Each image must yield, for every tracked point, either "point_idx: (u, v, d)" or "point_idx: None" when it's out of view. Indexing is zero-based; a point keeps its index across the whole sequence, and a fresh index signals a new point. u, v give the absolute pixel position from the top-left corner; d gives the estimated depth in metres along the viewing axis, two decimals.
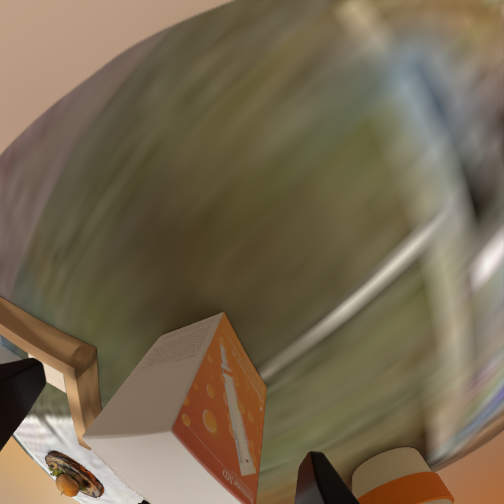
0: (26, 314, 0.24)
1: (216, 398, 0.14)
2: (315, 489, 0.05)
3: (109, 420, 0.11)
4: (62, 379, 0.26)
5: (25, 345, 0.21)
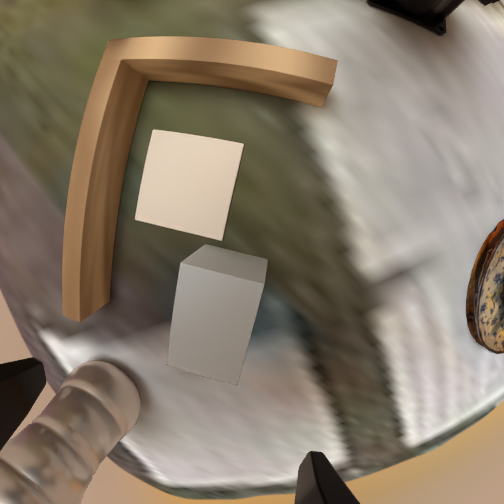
0: None
1: None
2: (315, 489, 0.05)
3: None
4: (209, 141, 0.17)
5: (85, 145, 0.13)
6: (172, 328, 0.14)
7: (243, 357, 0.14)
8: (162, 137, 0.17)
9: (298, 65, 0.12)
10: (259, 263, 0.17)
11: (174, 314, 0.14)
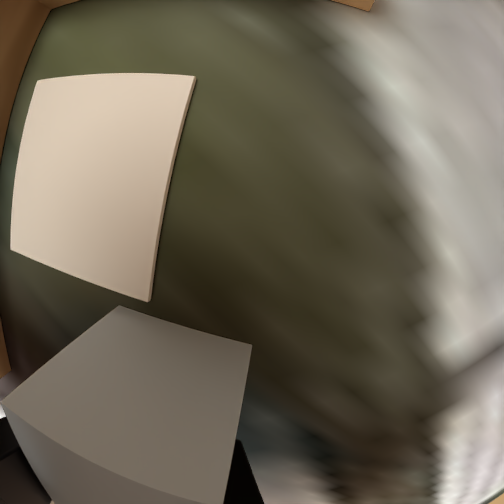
0: None
1: None
2: None
3: None
4: (123, 80, 0.06)
5: None
6: (49, 492, 0.04)
7: None
8: (47, 90, 0.06)
9: None
10: (227, 372, 0.06)
11: (40, 478, 0.04)
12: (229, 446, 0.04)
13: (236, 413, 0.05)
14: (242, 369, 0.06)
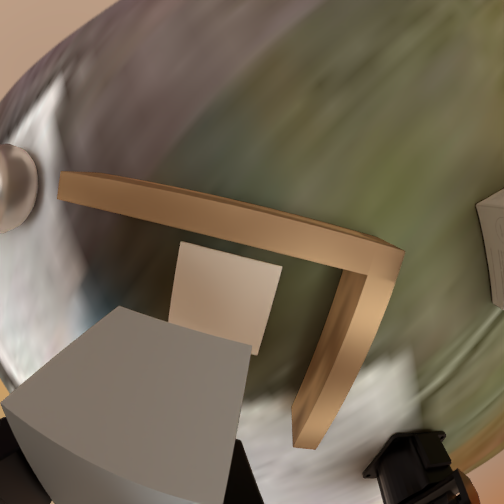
0: (205, 193, 0.16)
1: None
2: None
3: None
4: (261, 327, 0.17)
5: (256, 227, 0.12)
6: (49, 493, 0.04)
7: None
8: (271, 277, 0.17)
9: (312, 430, 0.14)
10: (227, 373, 0.06)
11: (40, 478, 0.04)
12: (229, 447, 0.04)
13: (236, 414, 0.05)
14: (242, 370, 0.06)
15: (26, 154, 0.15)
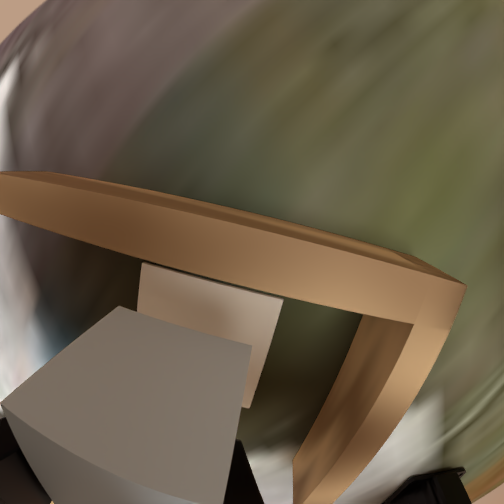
0: (173, 195, 0.11)
1: None
2: None
3: None
4: (254, 376, 0.12)
5: (241, 252, 0.07)
6: (48, 493, 0.04)
7: None
8: (268, 314, 0.12)
9: (318, 500, 0.09)
10: (227, 373, 0.06)
11: (40, 479, 0.04)
12: (229, 447, 0.04)
13: (236, 414, 0.05)
14: (242, 370, 0.06)
15: None
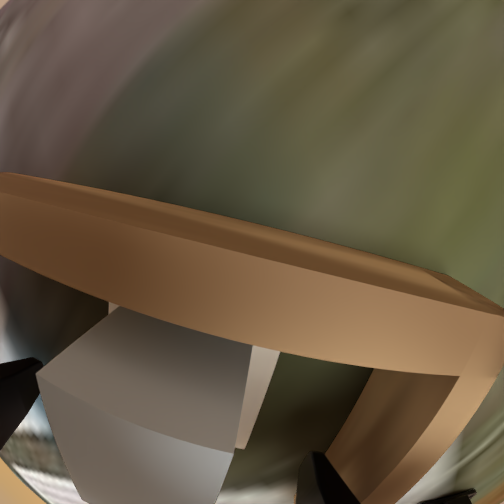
0: (144, 199, 0.08)
1: None
2: (316, 489, 0.05)
3: None
4: (250, 418, 0.10)
5: (222, 291, 0.05)
6: (68, 467, 0.05)
7: None
8: (266, 350, 0.09)
9: None
10: (234, 348, 0.07)
11: (62, 452, 0.05)
12: (238, 405, 0.05)
13: (243, 380, 0.06)
14: (247, 346, 0.08)
15: None
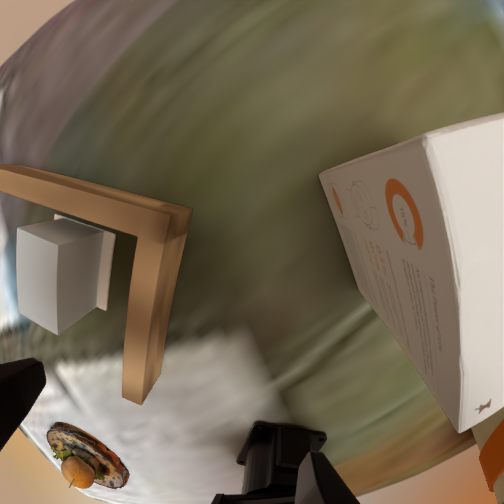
0: (68, 177, 0.18)
1: None
2: (315, 489, 0.05)
3: None
4: (105, 285, 0.19)
5: (66, 198, 0.14)
6: (17, 280, 0.14)
7: (55, 309, 0.14)
8: (108, 243, 0.18)
9: (130, 382, 0.16)
10: (86, 233, 0.17)
11: (17, 269, 0.14)
12: (71, 240, 0.15)
13: (79, 238, 0.15)
14: (92, 233, 0.17)
15: None
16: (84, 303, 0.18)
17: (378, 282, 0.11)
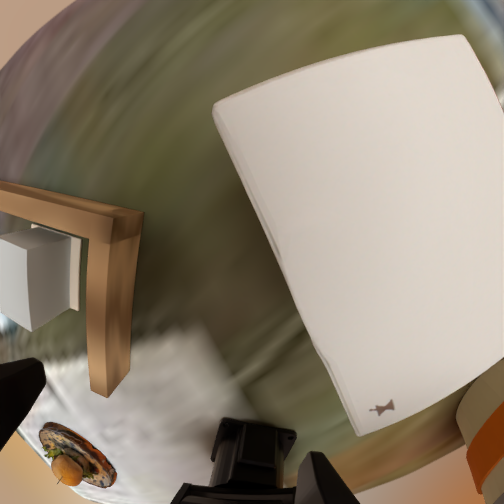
0: (40, 189, 0.18)
1: None
2: (315, 489, 0.05)
3: None
4: (76, 287, 0.20)
5: (33, 208, 0.15)
6: None
7: (28, 307, 0.15)
8: (75, 248, 0.19)
9: (95, 375, 0.17)
10: (55, 239, 0.17)
11: None
12: (39, 246, 0.15)
13: (47, 243, 0.16)
14: (60, 239, 0.18)
15: None
16: (56, 304, 0.18)
17: None
